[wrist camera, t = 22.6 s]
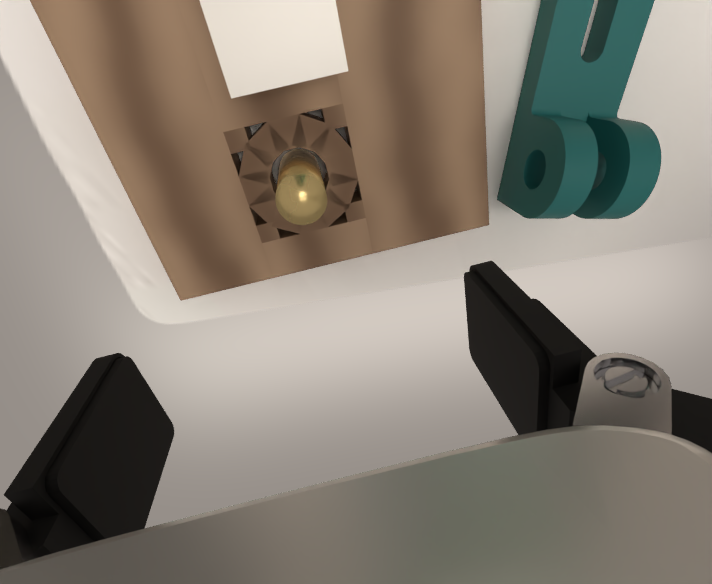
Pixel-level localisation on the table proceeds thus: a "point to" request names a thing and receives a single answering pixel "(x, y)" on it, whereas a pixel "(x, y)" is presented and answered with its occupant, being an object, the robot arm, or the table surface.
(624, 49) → the bracket
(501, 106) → the table surface
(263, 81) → the cream cube
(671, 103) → the table surface
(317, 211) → the brass pin
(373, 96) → the walnut board
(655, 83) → the table surface
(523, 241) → the table surface
